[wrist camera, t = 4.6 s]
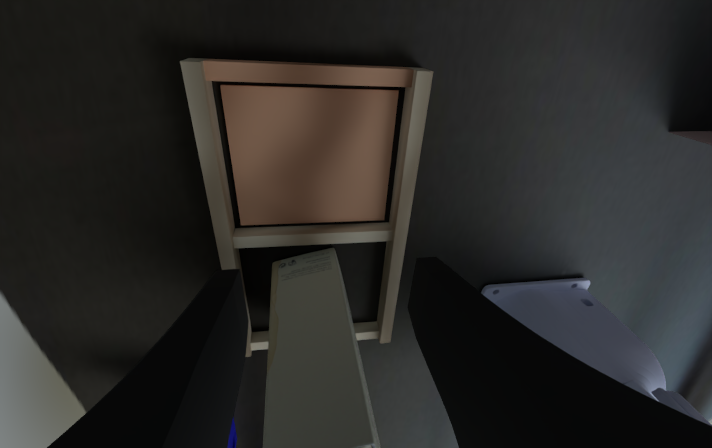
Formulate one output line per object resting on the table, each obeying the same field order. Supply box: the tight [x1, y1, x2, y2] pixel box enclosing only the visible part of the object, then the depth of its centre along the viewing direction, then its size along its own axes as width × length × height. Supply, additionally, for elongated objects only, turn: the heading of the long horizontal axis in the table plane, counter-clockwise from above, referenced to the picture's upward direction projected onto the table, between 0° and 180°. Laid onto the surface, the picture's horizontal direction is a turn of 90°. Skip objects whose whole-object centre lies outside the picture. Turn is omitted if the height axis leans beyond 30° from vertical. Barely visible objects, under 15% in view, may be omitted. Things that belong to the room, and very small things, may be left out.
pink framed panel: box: [180, 58, 433, 357], centre depth 20 cm, size 11×19×2 cm, turn 177°
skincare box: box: [263, 248, 381, 448], centre depth 18 cm, size 6×4×12 cm
